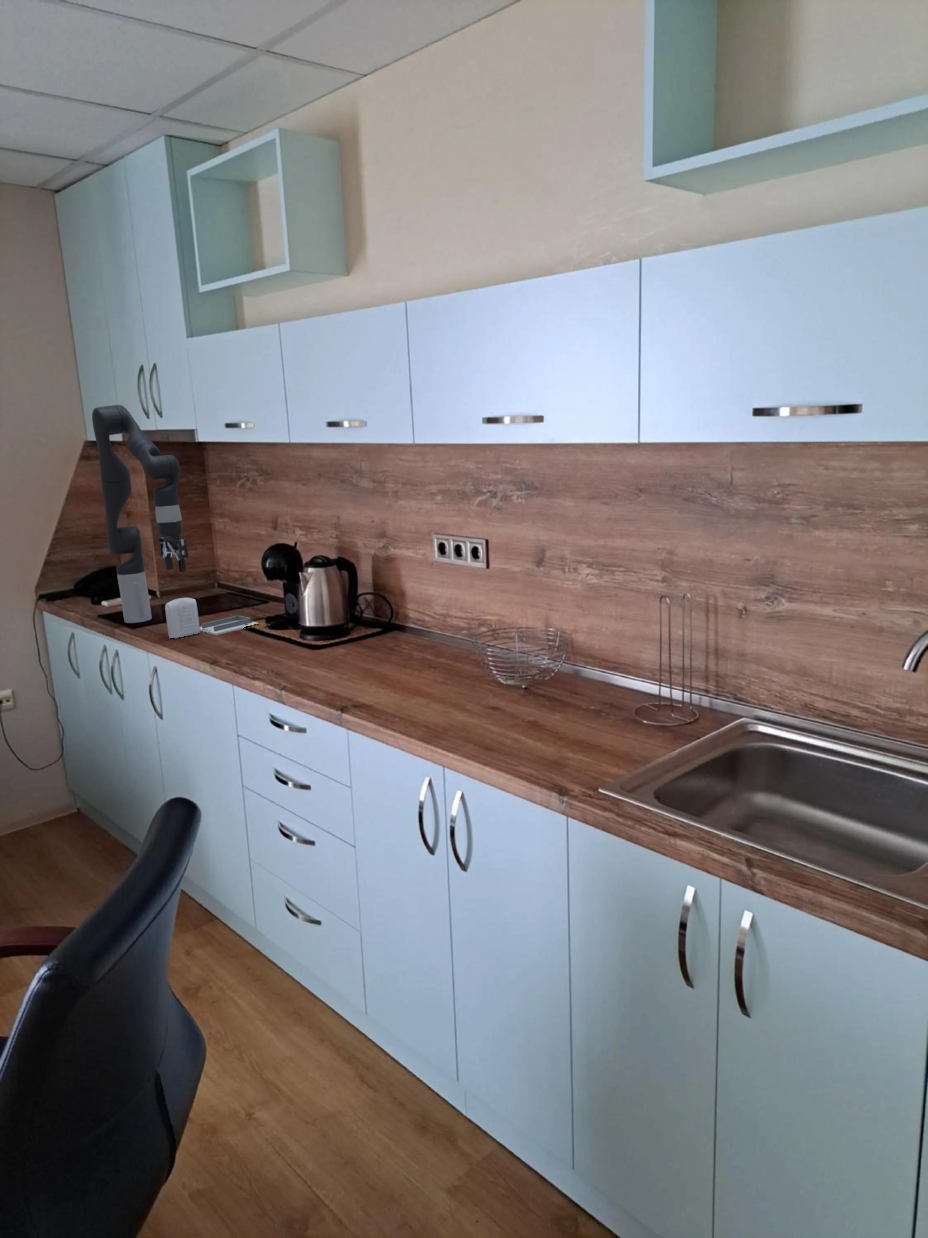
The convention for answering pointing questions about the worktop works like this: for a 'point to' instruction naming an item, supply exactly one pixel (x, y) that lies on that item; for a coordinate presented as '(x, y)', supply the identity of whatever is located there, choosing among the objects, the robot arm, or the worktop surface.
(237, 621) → the dock
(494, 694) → the worktop surface
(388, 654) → the worktop surface
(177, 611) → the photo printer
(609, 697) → the worktop surface
